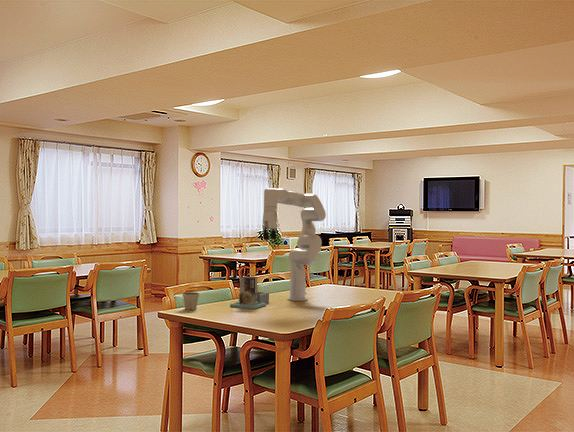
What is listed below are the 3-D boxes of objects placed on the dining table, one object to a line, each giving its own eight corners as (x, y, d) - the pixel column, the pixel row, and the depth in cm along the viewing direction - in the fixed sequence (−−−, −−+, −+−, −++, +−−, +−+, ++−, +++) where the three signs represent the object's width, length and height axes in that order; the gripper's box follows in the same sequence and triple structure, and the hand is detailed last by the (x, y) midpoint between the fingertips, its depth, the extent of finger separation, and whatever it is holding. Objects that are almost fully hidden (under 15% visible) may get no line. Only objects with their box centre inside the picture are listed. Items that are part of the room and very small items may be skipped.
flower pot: (195, 310, 301) (195, 294, 301) (179, 310, 303) (179, 294, 303) (201, 308, 310) (202, 292, 310) (185, 307, 312) (186, 291, 312)
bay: (248, 300, 339) (248, 291, 339) (268, 302, 333) (268, 292, 333) (238, 303, 329) (238, 293, 329) (259, 305, 323) (260, 294, 323)
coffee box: (257, 304, 321) (257, 276, 321) (255, 306, 315) (255, 277, 315) (241, 304, 322) (242, 276, 322) (239, 305, 316) (239, 277, 316)
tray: (241, 303, 327) (241, 300, 328) (265, 306, 321) (265, 302, 321) (230, 306, 316) (230, 303, 316) (255, 309, 309) (255, 306, 309)
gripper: (271, 209, 334) (270, 238, 334) (257, 209, 318) (257, 239, 318) (282, 210, 331) (281, 238, 331) (269, 209, 315) (269, 239, 315)
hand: (269, 239), depth 325 cm, fingers open, 9 cm apart
